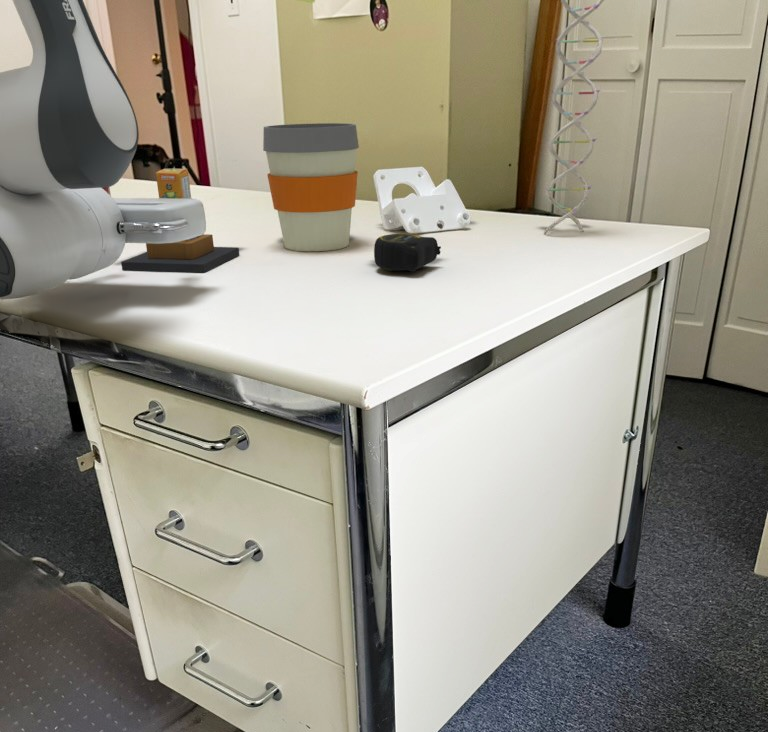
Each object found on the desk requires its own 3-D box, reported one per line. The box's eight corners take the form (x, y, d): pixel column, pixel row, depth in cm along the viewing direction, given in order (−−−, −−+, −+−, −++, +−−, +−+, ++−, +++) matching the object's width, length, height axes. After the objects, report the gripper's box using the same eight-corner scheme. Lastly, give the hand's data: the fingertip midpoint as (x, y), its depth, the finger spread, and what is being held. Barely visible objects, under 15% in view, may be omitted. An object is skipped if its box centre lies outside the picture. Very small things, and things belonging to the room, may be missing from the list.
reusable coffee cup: (253, 246, 112) (241, 127, 105) (320, 234, 120) (314, 122, 112) (312, 257, 104) (304, 129, 97) (380, 243, 112) (378, 124, 105)
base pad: (122, 270, 99) (117, 245, 98) (163, 253, 109) (160, 230, 107) (204, 272, 97) (201, 247, 96) (239, 255, 106) (237, 231, 105)
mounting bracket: (455, 237, 126) (442, 167, 125) (475, 224, 120) (461, 151, 119) (386, 244, 122) (372, 172, 120) (403, 232, 116) (389, 155, 115)
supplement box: (165, 257, 101) (152, 171, 96) (175, 251, 104) (163, 168, 99) (190, 257, 101) (179, 170, 96) (199, 252, 104) (189, 167, 99)
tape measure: (416, 278, 92) (416, 244, 90) (364, 273, 95) (363, 240, 93) (440, 266, 97) (441, 234, 96) (390, 262, 100) (389, 231, 98)
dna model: (545, 237, 113) (564, -16, 99) (536, 230, 119) (553, -11, 105) (592, 236, 113) (618, -17, 99) (581, 229, 119) (604, -12, 105)
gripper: (167, 195, 78) (225, 179, 89) (-16, 194, 82) (62, 179, 94) (176, 262, 81) (231, 238, 92) (-1, 257, 85) (73, 235, 97)
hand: (144, 208), depth 93 cm, fingers open, 8 cm apart
